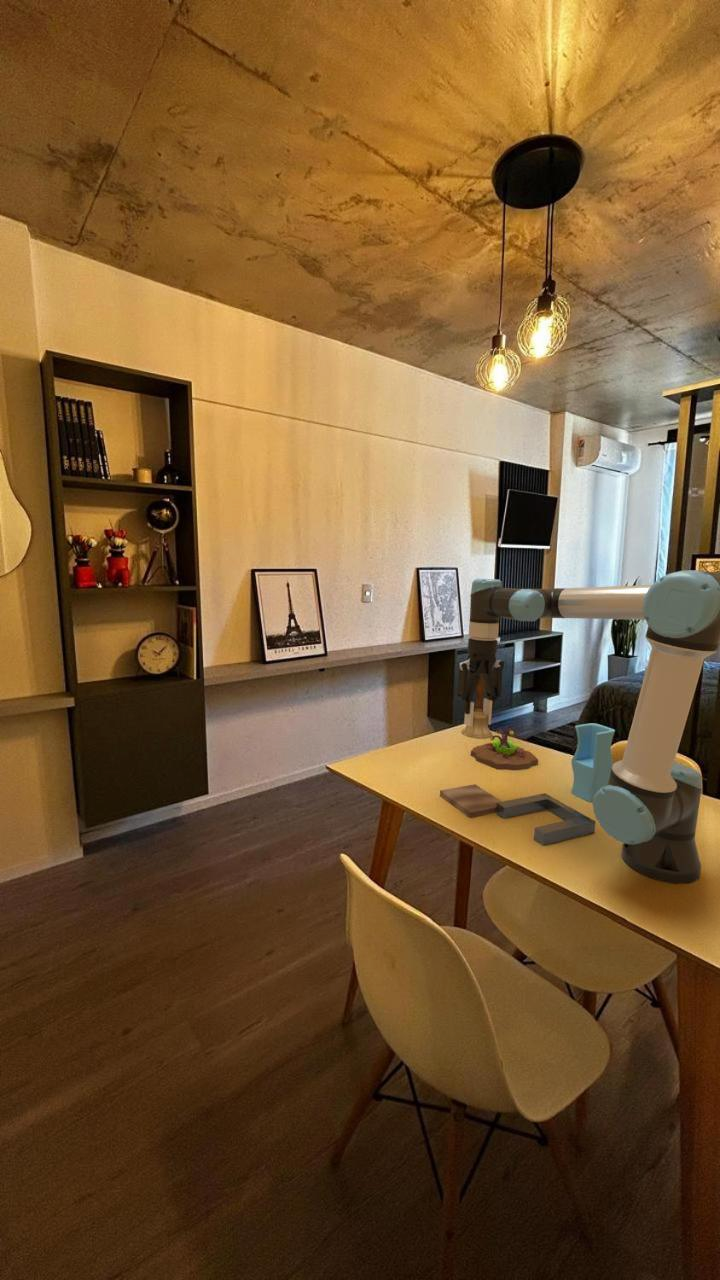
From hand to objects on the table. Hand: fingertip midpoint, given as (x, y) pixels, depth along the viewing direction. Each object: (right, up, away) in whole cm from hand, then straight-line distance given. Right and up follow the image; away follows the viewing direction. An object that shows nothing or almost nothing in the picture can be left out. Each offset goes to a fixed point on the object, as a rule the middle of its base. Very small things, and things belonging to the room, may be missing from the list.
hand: (477, 723), depth 140 cm
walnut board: (-1, -22, +3) cm, 22 cm away
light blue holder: (+35, -22, +10) cm, 42 cm away
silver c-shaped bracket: (+15, -24, -7) cm, 29 cm away
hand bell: (0, -3, 0) cm, 3 cm away
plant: (+17, -18, +37) cm, 45 cm away
